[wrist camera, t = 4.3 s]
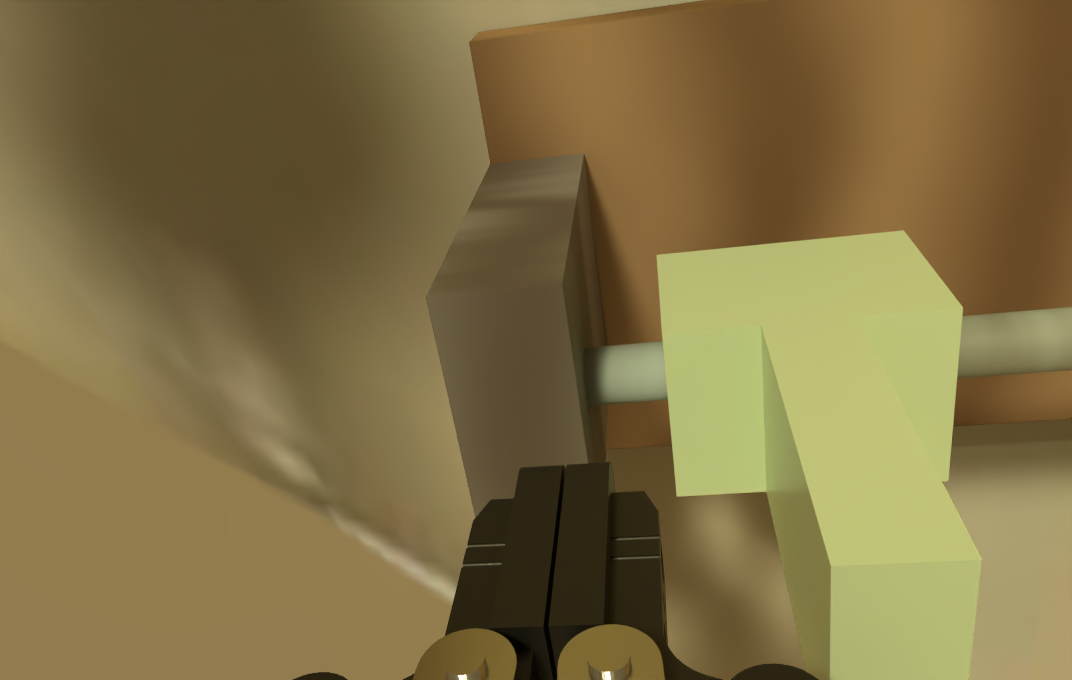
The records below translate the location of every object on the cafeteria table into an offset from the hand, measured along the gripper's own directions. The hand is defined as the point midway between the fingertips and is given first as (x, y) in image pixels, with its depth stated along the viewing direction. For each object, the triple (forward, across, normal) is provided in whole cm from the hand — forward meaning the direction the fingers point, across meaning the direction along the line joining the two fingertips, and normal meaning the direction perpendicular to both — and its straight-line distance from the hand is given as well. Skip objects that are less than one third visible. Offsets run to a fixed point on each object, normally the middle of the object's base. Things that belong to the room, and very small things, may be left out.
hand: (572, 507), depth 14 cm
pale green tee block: (+6, -4, 0) cm, 7 cm away
